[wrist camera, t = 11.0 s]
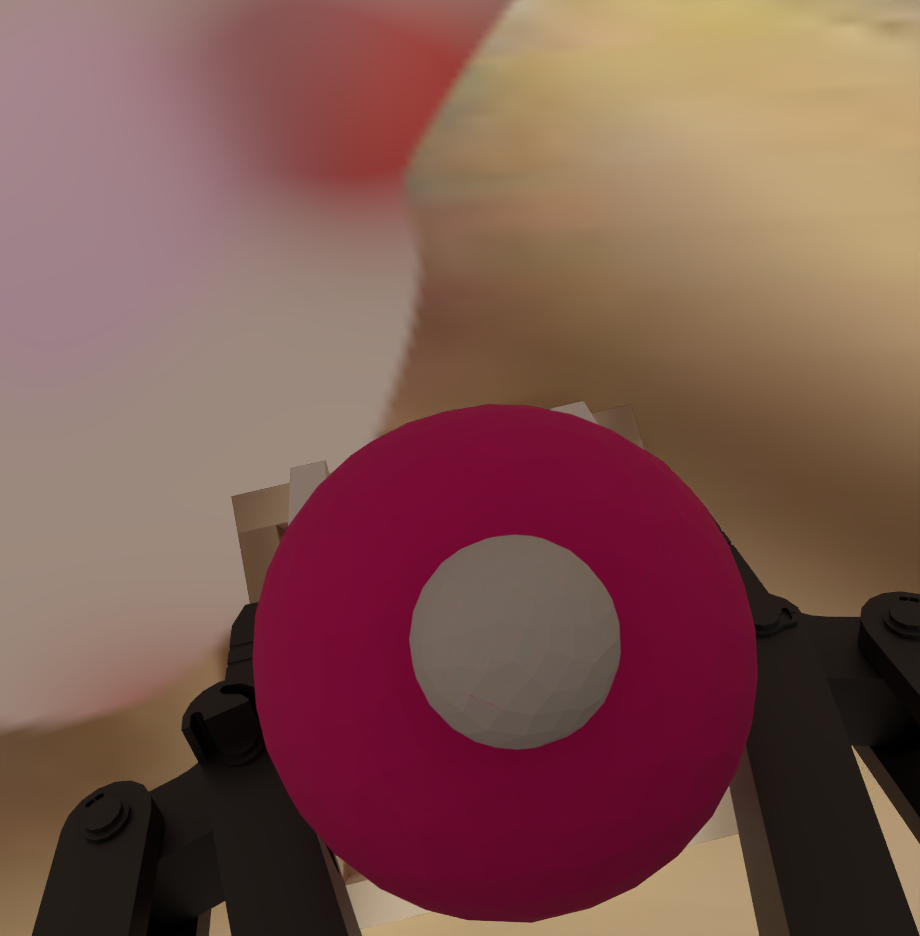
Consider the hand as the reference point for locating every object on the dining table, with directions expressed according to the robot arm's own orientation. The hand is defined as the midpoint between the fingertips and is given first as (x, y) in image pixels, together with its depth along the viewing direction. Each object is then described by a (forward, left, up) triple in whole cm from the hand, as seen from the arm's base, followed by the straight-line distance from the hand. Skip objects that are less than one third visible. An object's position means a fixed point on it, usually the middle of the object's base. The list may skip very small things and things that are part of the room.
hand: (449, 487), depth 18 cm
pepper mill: (0, +4, -8) cm, 9 cm away
